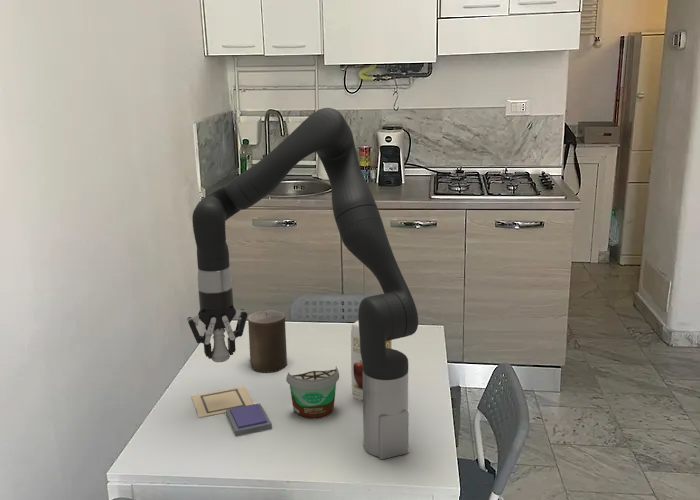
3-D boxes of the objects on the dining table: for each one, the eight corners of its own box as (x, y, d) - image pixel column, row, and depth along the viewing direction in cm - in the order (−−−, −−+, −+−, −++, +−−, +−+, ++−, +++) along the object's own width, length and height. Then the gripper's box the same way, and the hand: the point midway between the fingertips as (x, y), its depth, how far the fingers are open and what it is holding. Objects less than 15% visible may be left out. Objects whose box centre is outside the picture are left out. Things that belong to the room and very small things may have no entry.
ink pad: (272, 428, 150) (271, 421, 149) (236, 436, 147) (235, 429, 147) (260, 407, 159) (260, 401, 158) (226, 414, 156) (225, 408, 156)
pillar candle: (285, 372, 177) (283, 317, 173) (247, 372, 177) (244, 318, 173) (288, 357, 186) (286, 305, 182) (252, 357, 186) (250, 305, 182)
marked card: (255, 406, 159) (255, 405, 159) (199, 417, 155) (199, 416, 155) (244, 386, 169) (244, 385, 169) (191, 396, 165) (191, 395, 165)
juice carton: (363, 385, 169) (363, 313, 164) (394, 393, 165) (395, 320, 159) (348, 398, 163) (347, 324, 158) (379, 407, 158) (379, 331, 153)
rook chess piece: (214, 354, 162) (211, 323, 159) (232, 355, 161) (230, 323, 159) (208, 362, 157) (205, 330, 155) (227, 363, 157) (224, 330, 155)
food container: (292, 425, 151) (290, 384, 148) (287, 412, 157) (285, 372, 154) (346, 417, 154) (345, 376, 152) (339, 404, 160) (338, 365, 157)
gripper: (242, 277, 160) (246, 344, 165) (180, 285, 155) (186, 354, 160) (250, 286, 153) (254, 356, 158) (185, 295, 148) (191, 367, 153)
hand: (220, 355), depth 159 cm, fingers closed on rook chess piece, 4 cm apart
